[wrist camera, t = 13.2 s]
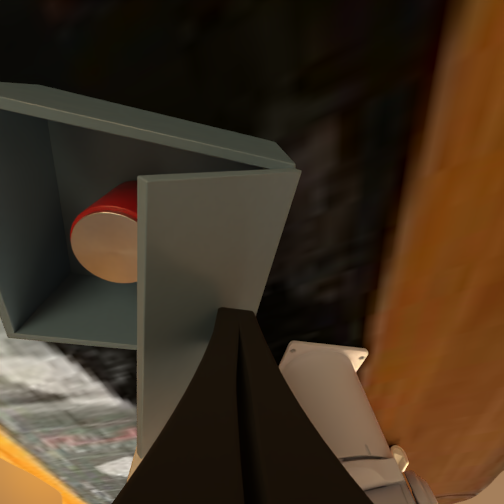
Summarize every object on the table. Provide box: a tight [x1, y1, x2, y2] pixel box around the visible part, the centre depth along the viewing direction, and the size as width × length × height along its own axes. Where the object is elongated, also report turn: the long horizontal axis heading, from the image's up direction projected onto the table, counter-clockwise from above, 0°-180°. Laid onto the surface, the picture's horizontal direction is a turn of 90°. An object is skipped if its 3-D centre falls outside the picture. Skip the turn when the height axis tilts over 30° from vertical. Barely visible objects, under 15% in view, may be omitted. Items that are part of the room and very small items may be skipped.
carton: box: [0, 82, 296, 350], centre depth 14 cm, size 12×12×6 cm
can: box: [70, 181, 137, 283], centre depth 14 cm, size 4×4×4 cm
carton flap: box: [137, 168, 302, 459], centre depth 10 cm, size 6×12×1 cm
